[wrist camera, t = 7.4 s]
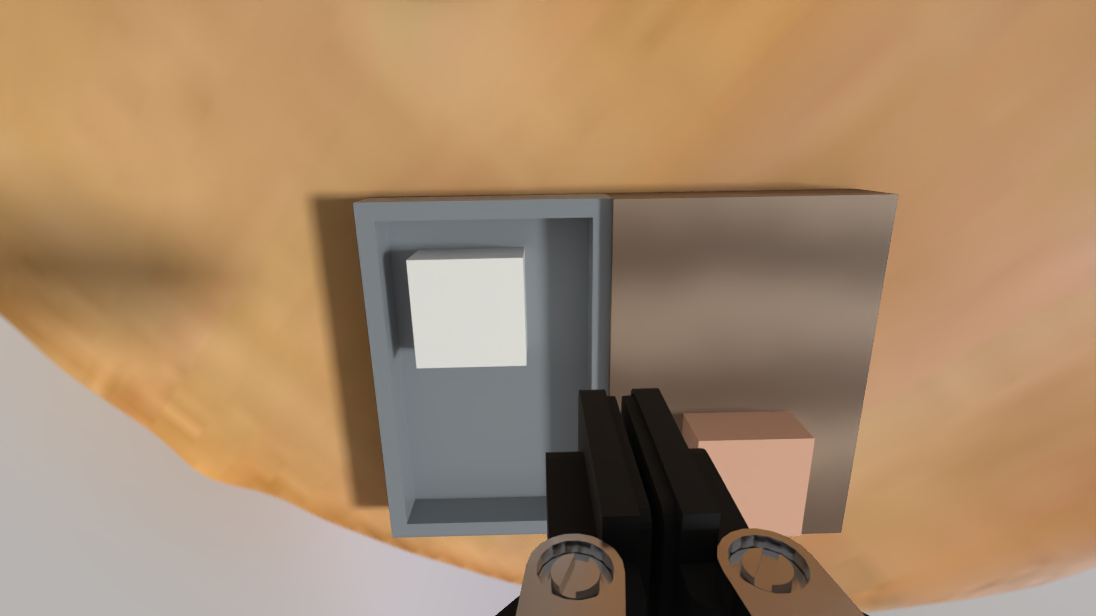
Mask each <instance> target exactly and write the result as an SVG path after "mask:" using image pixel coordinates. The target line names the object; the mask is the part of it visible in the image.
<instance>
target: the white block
mask: <svg viewBox="0 0 1096 616" xmlns="http://www.w3.org/2000/svg"><path fill="white" fill-rule="evenodd" d="M406 264H407V274H408V285H409V295H410V305H411V316H412V326H413V336H414V347H415V357H416V367H417V368H454V367H495V366H527V315H526V284H525V252H524V247H519V248H474V249H429V250H418V251H417V252H415V253H414V254H413V255H412V256H411V257H410V258H408V259H407V260H406Z"/></svg>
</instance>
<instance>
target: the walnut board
mask: <svg viewBox="0 0 1096 616" xmlns="http://www.w3.org/2000/svg"><path fill="white" fill-rule="evenodd" d="M605 194H607V195H608V196H610V197H611V198H612V229H611V282H610V335H609V389H608V396H615V397H616V400H617V403H618V406H619V409H620V413H621V400H622V396H629V395H630V394H631V390H632V389H639V388H659V390H660V392H661V394H662V396H663V398H664V400H665V402H666V404H667V406H668V408H669V410H670V412H671V414H672V416H673V418H674V420H675V422H676V424H677V426H678V428H679V430H680V432H681V434H682V428H683V413H718V412H761V411H789V412H790V413H791V414H792V415H793V416H794V417H795V418H796V419H797V420H798V421H799V422H800V423H801V424H802V425H803V426H804V427H805V428H806V430H807V431H808V432H809V433H810V434H811V435H812V436H813V437H814V438H815V442H814V448H813V455H812V462H811V469H810V476H809V483H808V490H807V497H806V504H805V511H804V518H803V525H802V532H801V534H812V533H841V530H842V524H843V518H844V512H845V507H846V501H847V495H848V489H849V483H850V477H851V471H852V465H853V459H854V453H855V448H856V442H857V436H858V430H859V424H860V418H861V412H862V406H863V400H864V395H865V389H866V383H867V377H868V371H869V365H870V359H871V353H872V347H873V342H874V336H875V330H876V324H877V318H878V312H879V306H880V300H881V294H882V289H883V283H884V277H885V271H886V265H887V259H888V253H889V247H890V241H891V235H892V230H893V224H894V218H895V212H896V206H897V200H898V194H892V193H884V192H876V191H869V190H861V189H832V190H775V191H717V192H659V193H605Z"/></svg>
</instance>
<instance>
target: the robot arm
mask: <svg viewBox="0 0 1096 616" xmlns="http://www.w3.org/2000/svg"><path fill="white" fill-rule="evenodd" d="M546 506H547V539H548V540H546V541H545V542H543V543H541V544H540V545H539V546H538V547H537V548H536V549H535V550H534V551H533V552H532V553H531V555H530V557H529V560H528V562H527V565H526V569H525V574H524V579H523V583H522V588H521V593H520V596H519V597H517V598H516V599H515V600H514V601H512V602H511V603H510V604H509V605H508V606H506V607H505V608H504V609H503V610H502V611H500V612H499V613H498V614H497V615H496V616H869V615H867V614H865V613H863V612H861V611H860V610H859V608H858V607H857V606H856V605H855V604H854V603H853V602H852V600H851V599H850V598H849V597H848V596H847V595H846V594H845V592H844V591H843V590H842V589H841V588H840V587H839V585H838V584H837V583H836V582H835V581H834V580H833V579H832V577H831V576H830V575H829V574H828V573H827V572H826V571H825V569H824V568H823V567H822V566H821V565H820V564H819V562H818V561H817V560H816V559H815V558H814V557H813V556H812V555H811V554H810V553H809V552H808V551H807V550H806V549H805V548H804V547H803V546H801V545H800V544H798V543H797V542H795V541H793V540H792V539H790V538H788V537H786V536H784V535H781V534H778V533H776V532H773V531H769V530H763V529H758V528H749V527H748V525H747V524H746V522H745V520H744V518H743V516H742V514H741V513H740V511H739V509H738V507H737V505H736V503H735V502H734V500H733V498H732V496H731V494H730V493H729V491H728V489H727V487H726V485H725V483H724V482H723V480H722V478H721V476H720V474H719V473H718V471H717V469H716V467H715V465H714V463H713V462H712V460H711V458H710V456H709V454H708V453H707V451H706V450H705V449H703V448H688V446H687V444H686V442H685V440H684V438H683V436H682V434H681V432H680V430H679V428H678V426H677V424H676V422H675V420H674V418H673V416H672V414H671V412H670V410H669V408H668V406H667V404H666V402H665V400H664V398H663V396H662V394H661V392H660V390H659V388H639V389H632V390H631V394H630V395H629V396H622V400H621V413H620V409H619V406H618V403H617V400H616V397H615V396H607V395H606V391H605V389H598V390H579V394H578V451H574V452H546Z"/></svg>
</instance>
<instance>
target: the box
mask: <svg viewBox="0 0 1096 616" xmlns="http://www.w3.org/2000/svg"><path fill="white" fill-rule="evenodd" d="M353 208H354V217H355V225H356V234H357V242H358V251H359V259H360V267H361V276H362V284H363V293H364V301H365V310H366V318H367V327H368V335H369V343H370V352H371V360H372V369H373V377H374V386H375V394H376V402H377V411H378V419H379V428H380V436H381V445H382V453H383V462H384V470H385V478H386V487H387V495H388V504H389V512H390V521H391V529H392V537H393V538H399V537H437V536H476V535H514V534H547V506H546V452H574V451H578V394H579V390H598V389H605V391H606V395H607V396H608V389H609V335H610V282H611V229H612V198H611V197H610V196H608V195H607V194H605V193H601V194H543V195H485V196H427V197H370V198H367V199H364V200H360V201H357V202H354V203H353ZM519 247H524V252H525V284H526V315H527V366H495V367H454V368H417V367H416V357H415V347H414V336H413V326H412V316H411V305H410V295H409V285H408V274H407V264H406V260H407V259H408V258H410V257H411V256H412V255H413V254H414V253H415V252H417V251H418V250H429V249H474V248H519Z"/></svg>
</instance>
